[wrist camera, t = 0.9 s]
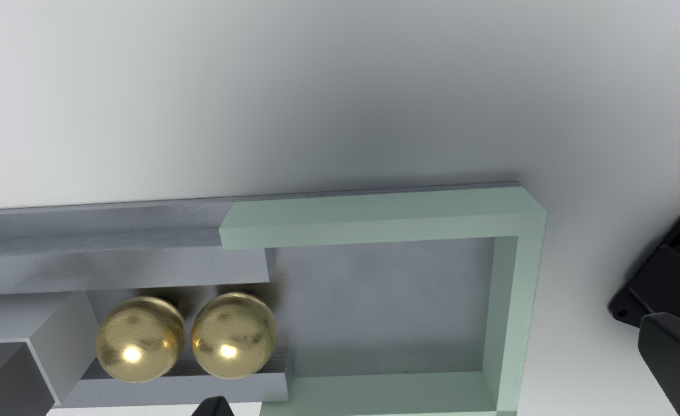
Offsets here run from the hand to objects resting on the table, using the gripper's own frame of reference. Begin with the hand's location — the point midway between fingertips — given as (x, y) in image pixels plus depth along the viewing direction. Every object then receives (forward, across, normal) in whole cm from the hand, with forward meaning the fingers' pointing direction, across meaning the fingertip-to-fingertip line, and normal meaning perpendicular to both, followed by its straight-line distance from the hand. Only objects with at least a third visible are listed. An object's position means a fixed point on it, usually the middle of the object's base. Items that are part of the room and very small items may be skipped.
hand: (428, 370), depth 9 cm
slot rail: (+12, +8, +6) cm, 15 cm away
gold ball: (+11, +8, +6) cm, 15 cm away
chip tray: (+11, +1, +7) cm, 13 cm away
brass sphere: (+11, +12, +5) cm, 17 cm away
